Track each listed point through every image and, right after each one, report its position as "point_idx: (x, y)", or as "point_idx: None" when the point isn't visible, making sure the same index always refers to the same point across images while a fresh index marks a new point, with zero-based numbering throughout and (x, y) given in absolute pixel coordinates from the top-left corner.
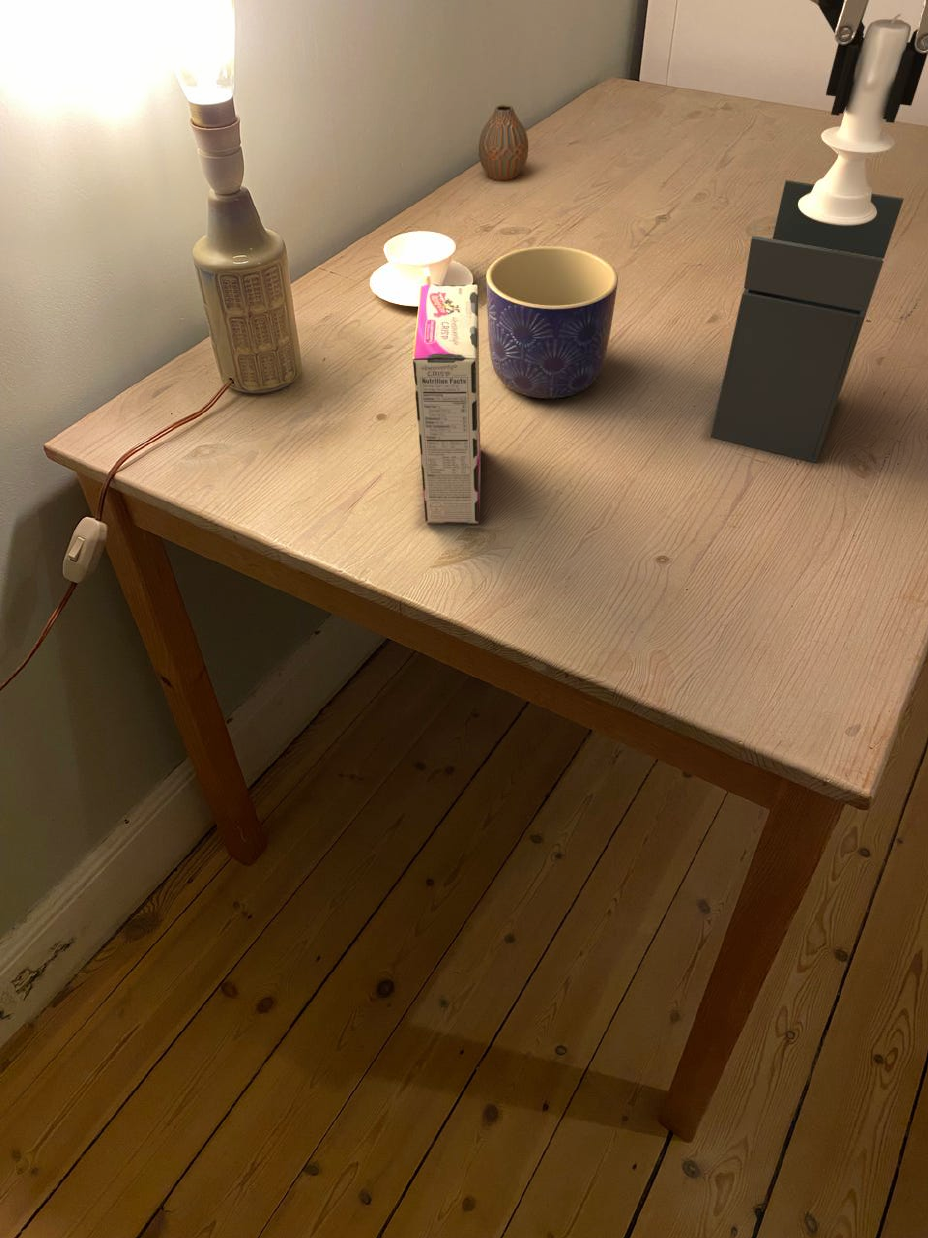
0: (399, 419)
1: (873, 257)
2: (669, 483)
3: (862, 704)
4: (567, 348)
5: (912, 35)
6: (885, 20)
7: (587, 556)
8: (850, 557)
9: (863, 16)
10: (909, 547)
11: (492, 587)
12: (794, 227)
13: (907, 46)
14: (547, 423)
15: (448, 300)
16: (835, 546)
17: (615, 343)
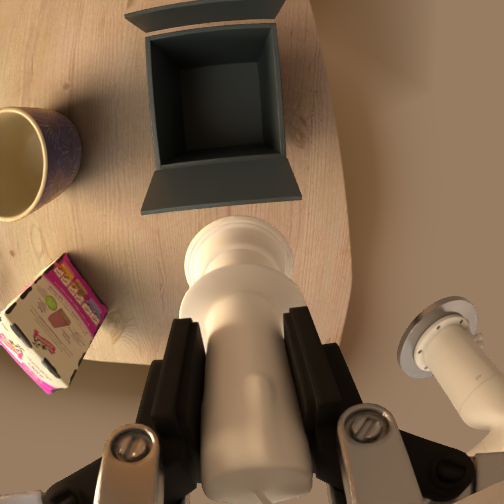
0: (19, 250)
1: (291, 198)
2: (180, 221)
3: (330, 327)
4: (55, 193)
5: (319, 465)
6: (235, 480)
7: (170, 306)
8: (310, 234)
9: (162, 470)
10: (341, 208)
11: (144, 343)
12: (163, 24)
13: (310, 433)
14: (80, 203)
15: (10, 340)
16: (300, 229)
17: (73, 79)
